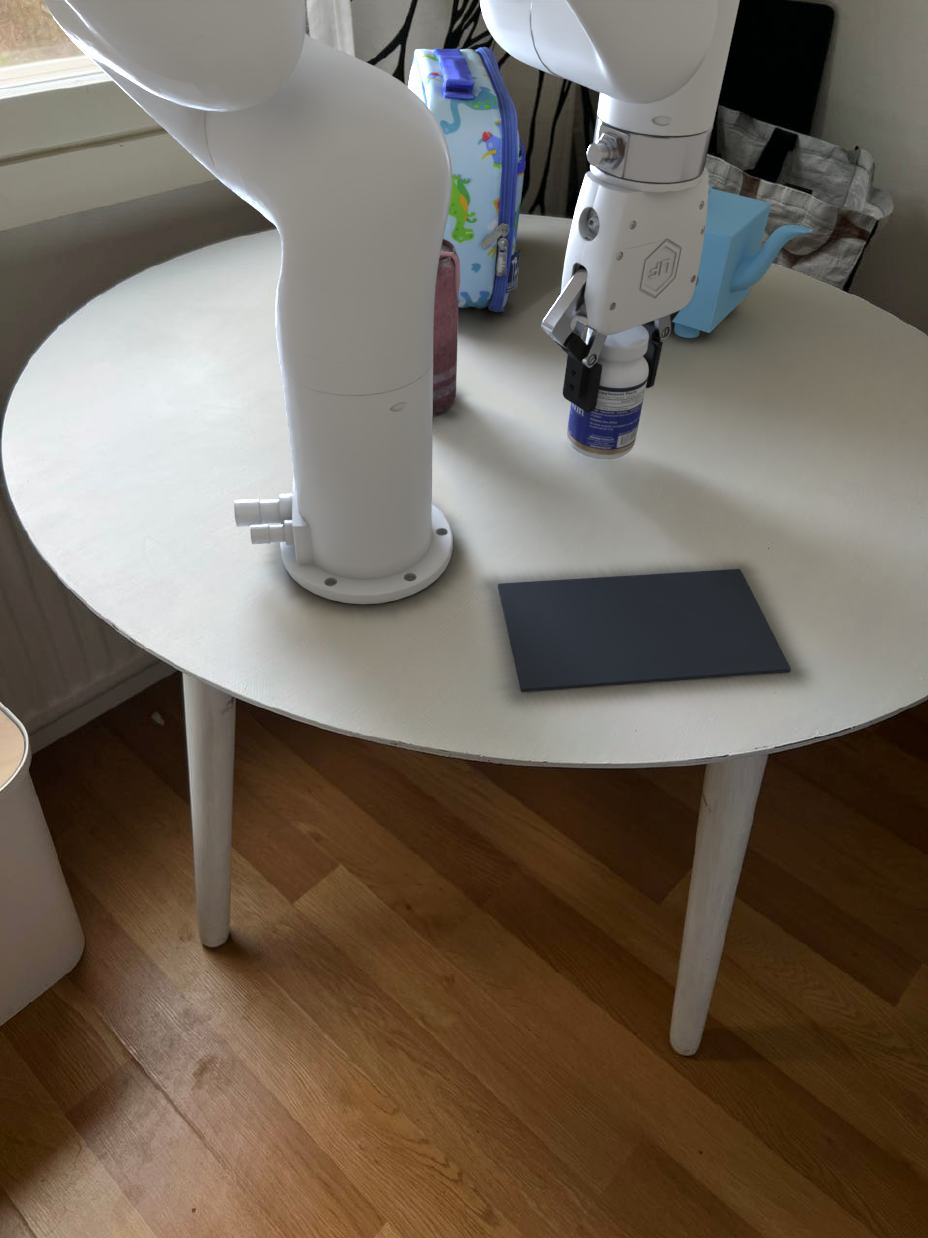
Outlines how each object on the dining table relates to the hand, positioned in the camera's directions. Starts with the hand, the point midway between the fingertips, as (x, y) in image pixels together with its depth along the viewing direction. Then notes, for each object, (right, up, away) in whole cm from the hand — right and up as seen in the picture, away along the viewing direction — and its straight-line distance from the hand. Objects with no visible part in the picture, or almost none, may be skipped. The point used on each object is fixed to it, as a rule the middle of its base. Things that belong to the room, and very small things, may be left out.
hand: (608, 390), depth 73 cm
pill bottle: (0, -4, +4) cm, 5 cm away
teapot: (+13, +13, +23) cm, 29 cm away
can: (-15, +1, +10) cm, 18 cm away
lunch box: (-12, +20, +29) cm, 37 cm away
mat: (0, -19, -10) cm, 21 cm away
